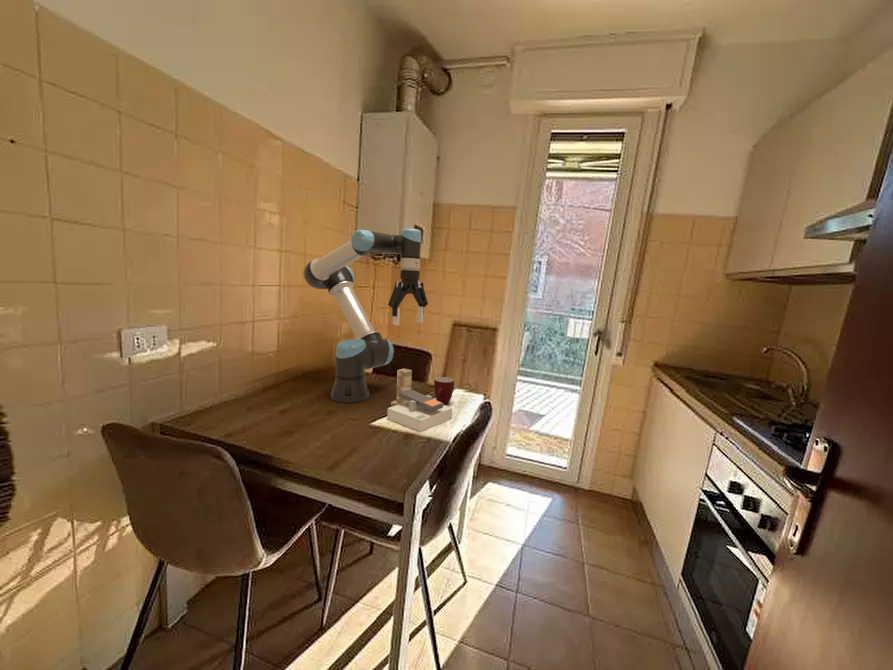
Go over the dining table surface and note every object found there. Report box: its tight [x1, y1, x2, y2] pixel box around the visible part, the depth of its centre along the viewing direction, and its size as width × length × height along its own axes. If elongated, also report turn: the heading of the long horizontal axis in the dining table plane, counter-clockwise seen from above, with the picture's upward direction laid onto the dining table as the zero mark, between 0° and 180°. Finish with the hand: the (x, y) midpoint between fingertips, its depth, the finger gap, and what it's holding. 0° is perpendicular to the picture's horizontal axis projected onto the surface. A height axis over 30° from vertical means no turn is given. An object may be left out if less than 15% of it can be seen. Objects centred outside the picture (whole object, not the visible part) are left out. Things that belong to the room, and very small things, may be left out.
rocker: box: [399, 388, 444, 412], centre depth 135 cm, size 16×6×2 cm, turn 52°
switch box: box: [386, 394, 453, 433], centre depth 136 cm, size 16×17×8 cm
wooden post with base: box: [390, 368, 413, 407], centre depth 148 cm, size 7×7×14 cm
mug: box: [433, 376, 455, 406], centre depth 152 cm, size 11×8×10 cm
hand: (408, 323), depth 151 cm, fingers open, 13 cm apart
